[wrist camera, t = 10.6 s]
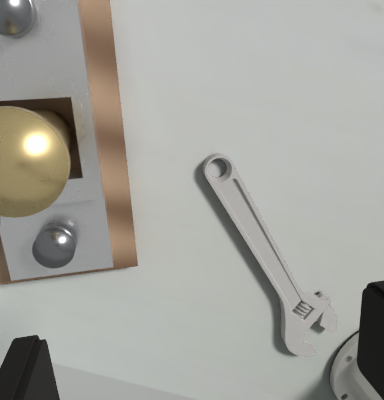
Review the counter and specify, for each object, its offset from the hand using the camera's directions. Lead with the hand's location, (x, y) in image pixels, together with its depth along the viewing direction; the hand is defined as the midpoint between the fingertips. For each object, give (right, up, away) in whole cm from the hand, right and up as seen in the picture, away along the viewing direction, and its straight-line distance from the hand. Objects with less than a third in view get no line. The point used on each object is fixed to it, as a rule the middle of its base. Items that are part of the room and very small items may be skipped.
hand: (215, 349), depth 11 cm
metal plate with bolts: (-12, +9, +17) cm, 23 cm away
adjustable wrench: (+8, -1, +26) cm, 28 cm away
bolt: (-12, +9, +17) cm, 23 cm away
